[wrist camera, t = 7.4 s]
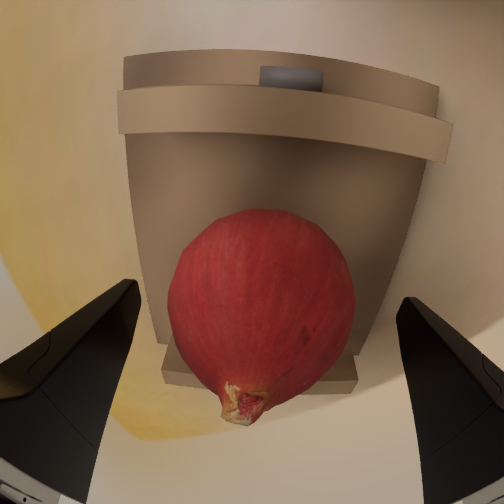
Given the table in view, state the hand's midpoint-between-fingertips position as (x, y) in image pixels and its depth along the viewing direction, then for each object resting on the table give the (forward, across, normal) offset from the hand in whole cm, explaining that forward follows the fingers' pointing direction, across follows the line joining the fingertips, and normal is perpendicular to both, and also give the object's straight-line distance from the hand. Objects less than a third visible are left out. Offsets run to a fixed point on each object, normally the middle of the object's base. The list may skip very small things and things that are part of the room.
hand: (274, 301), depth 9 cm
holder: (+5, 0, 0) cm, 5 cm away
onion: (+4, 0, 0) cm, 4 cm away
